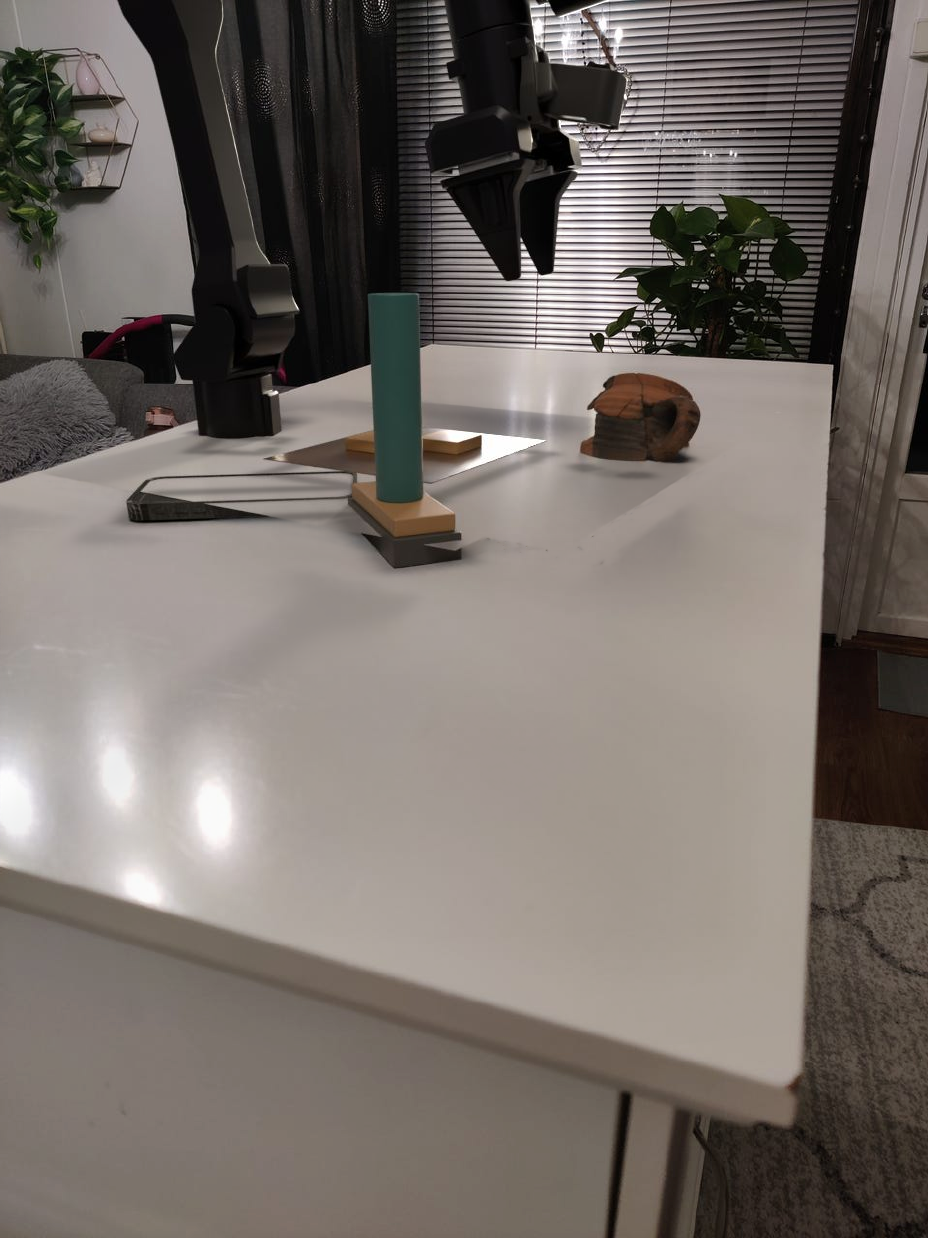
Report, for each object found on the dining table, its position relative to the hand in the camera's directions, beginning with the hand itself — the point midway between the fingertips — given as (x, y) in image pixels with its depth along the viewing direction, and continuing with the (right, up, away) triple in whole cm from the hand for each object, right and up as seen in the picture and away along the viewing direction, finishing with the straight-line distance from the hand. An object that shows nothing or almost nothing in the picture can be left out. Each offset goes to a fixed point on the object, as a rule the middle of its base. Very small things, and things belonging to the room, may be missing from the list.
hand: (531, 277), depth 66 cm
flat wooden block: (-12, -11, +7) cm, 18 cm away
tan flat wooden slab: (-6, -11, +7) cm, 15 cm away
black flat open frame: (-20, -18, -5) cm, 27 cm away
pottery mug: (+10, -13, +6) cm, 18 cm away
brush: (-9, -21, -12) cm, 26 cm away
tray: (-9, -13, +7) cm, 17 cm away
